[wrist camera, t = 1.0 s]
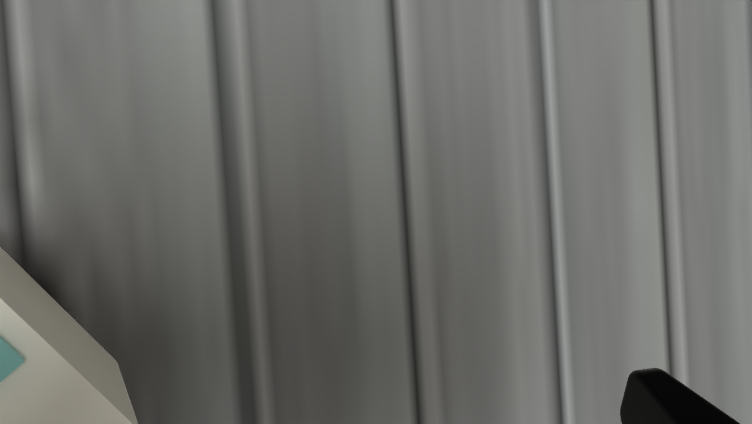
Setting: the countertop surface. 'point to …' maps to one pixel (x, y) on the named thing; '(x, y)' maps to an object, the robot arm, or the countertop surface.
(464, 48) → the countertop surface
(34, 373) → the cream block
